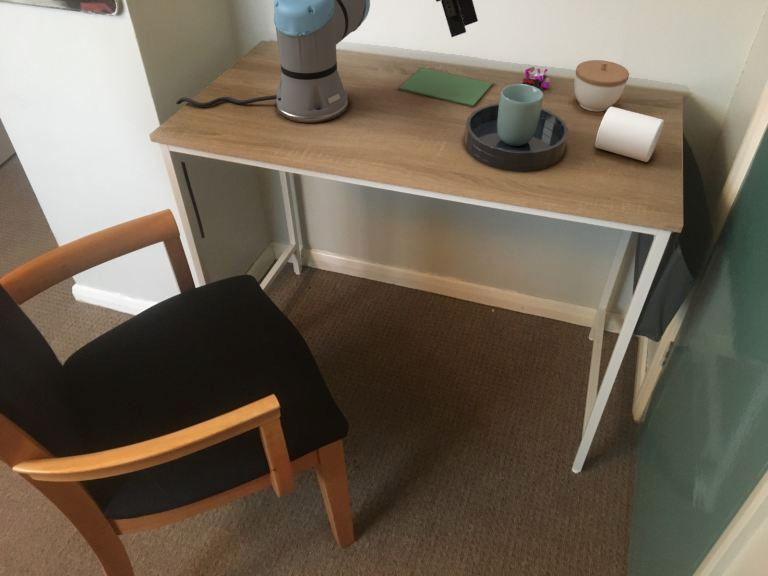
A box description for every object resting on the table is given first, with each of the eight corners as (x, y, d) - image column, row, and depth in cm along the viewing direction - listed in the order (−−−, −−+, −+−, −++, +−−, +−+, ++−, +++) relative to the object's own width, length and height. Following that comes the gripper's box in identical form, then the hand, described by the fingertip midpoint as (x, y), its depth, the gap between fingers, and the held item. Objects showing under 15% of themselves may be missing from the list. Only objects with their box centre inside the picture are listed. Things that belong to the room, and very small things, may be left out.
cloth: (399, 89, 138) (399, 87, 138) (421, 69, 145) (421, 67, 145) (473, 106, 132) (473, 105, 131) (492, 84, 139) (492, 83, 139)
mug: (643, 169, 114) (656, 131, 108) (591, 154, 118) (601, 116, 112) (659, 141, 121) (673, 104, 116) (610, 128, 125) (620, 91, 119)
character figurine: (529, 77, 144) (515, 92, 135) (534, 55, 141) (520, 69, 132) (553, 83, 142) (540, 98, 134) (558, 61, 139) (546, 75, 131)
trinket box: (566, 112, 130) (576, 70, 123) (570, 90, 137) (580, 49, 131) (618, 120, 127) (631, 77, 121) (620, 97, 135) (632, 55, 128)
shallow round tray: (449, 155, 117) (450, 137, 115) (485, 112, 130) (487, 95, 127) (547, 181, 111) (551, 162, 108) (575, 134, 123) (579, 116, 120)
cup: (507, 127, 124) (514, 80, 117) (541, 139, 120) (551, 91, 113) (486, 142, 119) (493, 94, 112) (521, 155, 116) (530, 107, 109)
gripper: (435, -103, 97) (473, 32, 105) (463, -101, 117) (493, 13, 126) (393, -83, 100) (433, 46, 109) (427, -84, 120) (458, 25, 129)
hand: (465, 29), depth 117 cm, fingers open, 13 cm apart
